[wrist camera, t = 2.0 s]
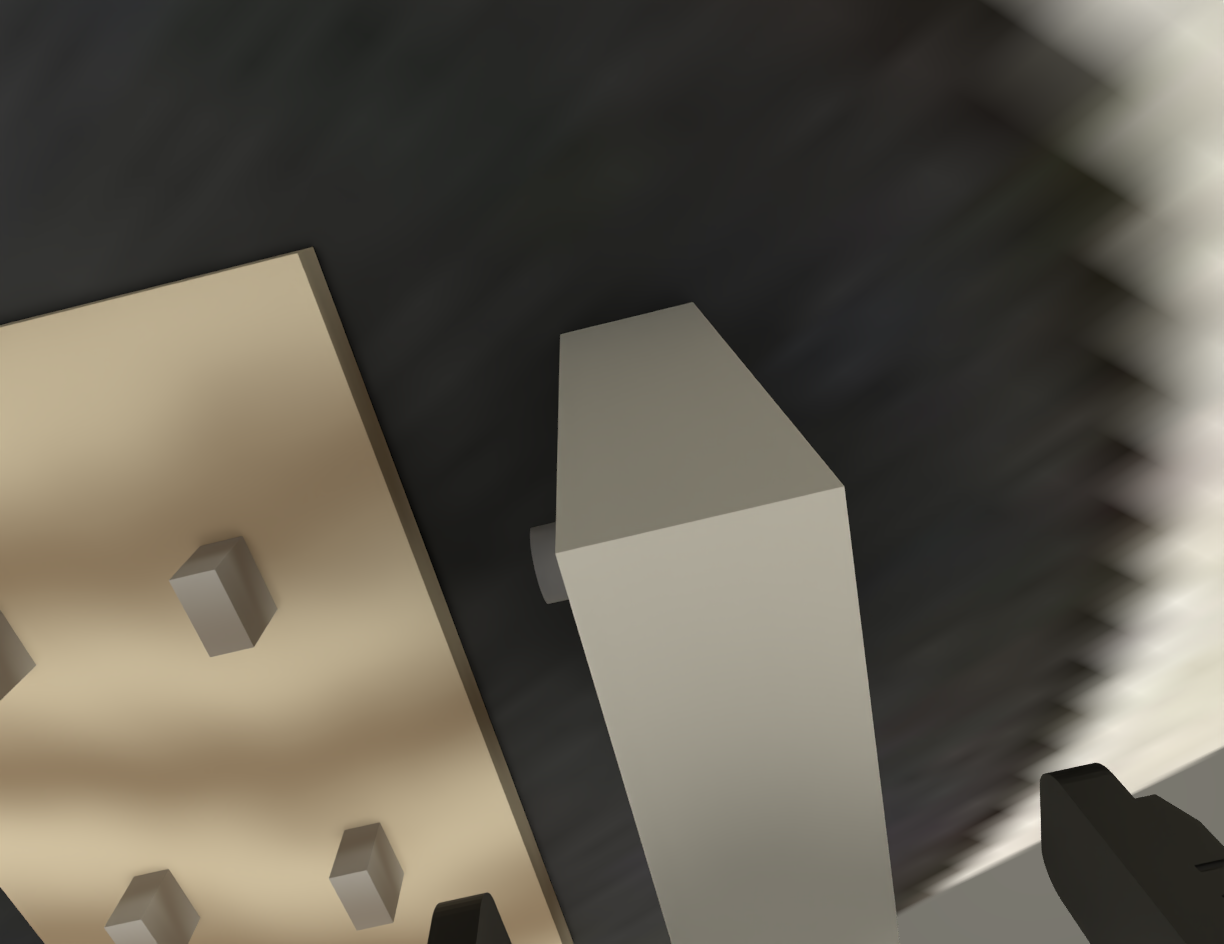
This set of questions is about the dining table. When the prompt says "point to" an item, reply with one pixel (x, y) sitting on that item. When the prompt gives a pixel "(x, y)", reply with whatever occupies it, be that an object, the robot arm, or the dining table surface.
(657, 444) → the door panel
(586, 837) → the dining table surface
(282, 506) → the light brown flat board
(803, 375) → the dining table surface
